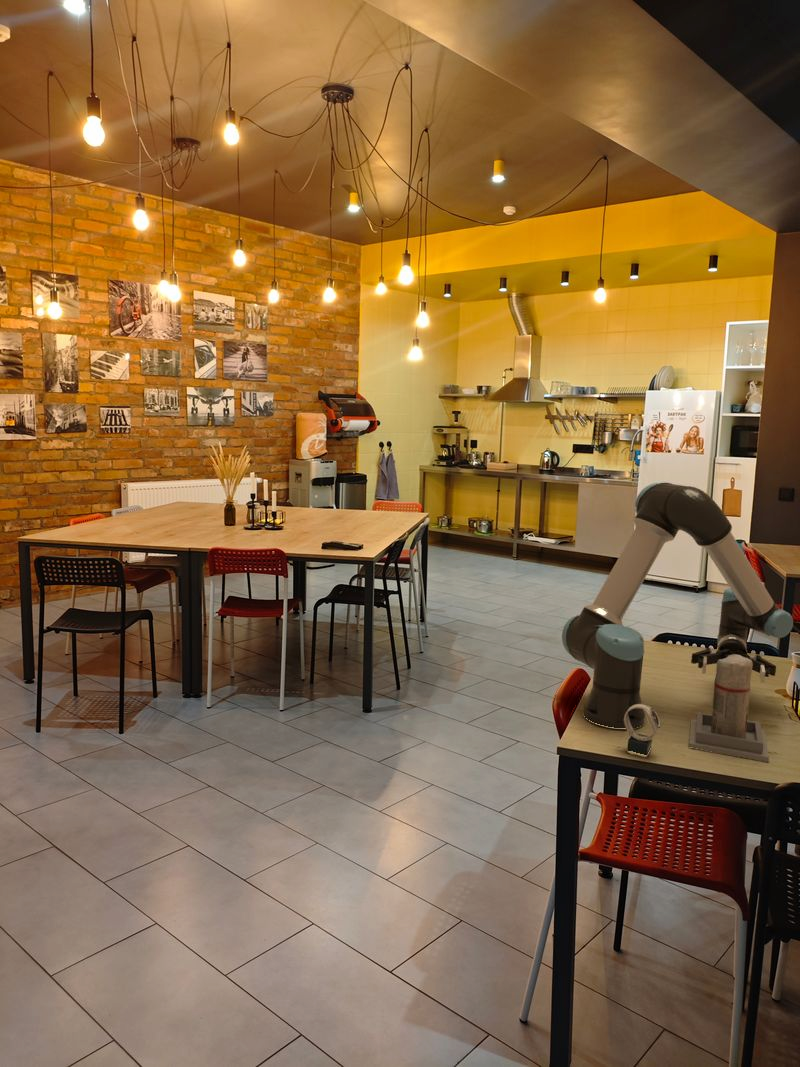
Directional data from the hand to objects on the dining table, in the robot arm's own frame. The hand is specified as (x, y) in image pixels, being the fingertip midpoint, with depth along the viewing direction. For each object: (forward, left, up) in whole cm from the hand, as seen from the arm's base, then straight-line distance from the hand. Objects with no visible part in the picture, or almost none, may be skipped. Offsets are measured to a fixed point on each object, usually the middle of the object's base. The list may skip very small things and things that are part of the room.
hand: (733, 672), depth 196 cm
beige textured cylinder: (0, -10, -13) cm, 17 cm away
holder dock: (0, -10, -14) cm, 18 cm away
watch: (-19, -26, -14) cm, 36 cm away
